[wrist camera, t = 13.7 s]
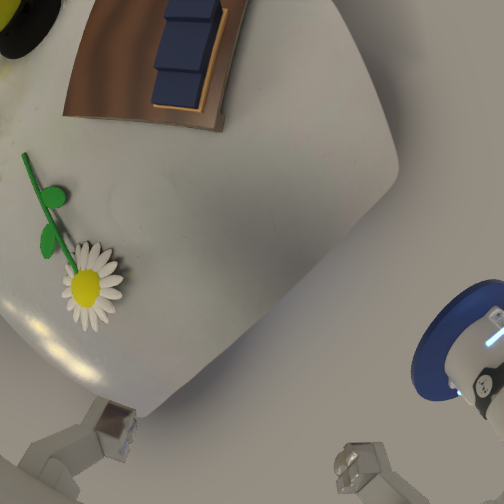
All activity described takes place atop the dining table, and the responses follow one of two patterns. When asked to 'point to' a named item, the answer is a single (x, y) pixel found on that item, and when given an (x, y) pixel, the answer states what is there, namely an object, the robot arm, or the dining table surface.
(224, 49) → the brown wooden stand
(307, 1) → the dining table surface
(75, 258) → the decorative flower
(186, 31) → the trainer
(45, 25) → the lantern
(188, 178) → the dining table surface
